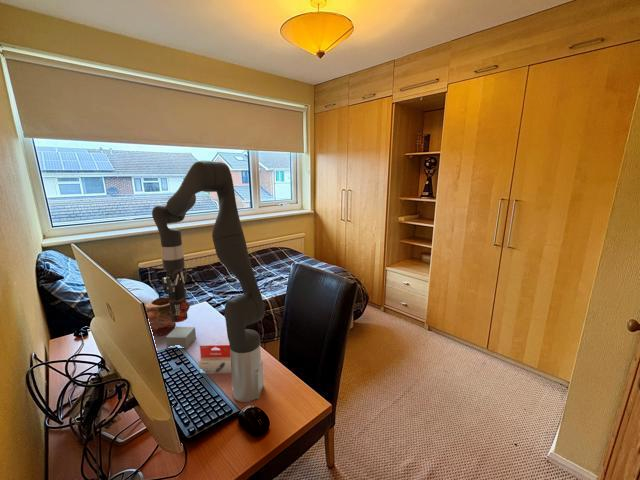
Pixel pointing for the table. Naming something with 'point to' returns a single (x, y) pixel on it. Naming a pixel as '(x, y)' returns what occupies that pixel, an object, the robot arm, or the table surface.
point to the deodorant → (178, 304)
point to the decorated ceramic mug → (161, 316)
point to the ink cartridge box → (215, 359)
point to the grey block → (181, 337)
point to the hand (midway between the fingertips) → (177, 296)
